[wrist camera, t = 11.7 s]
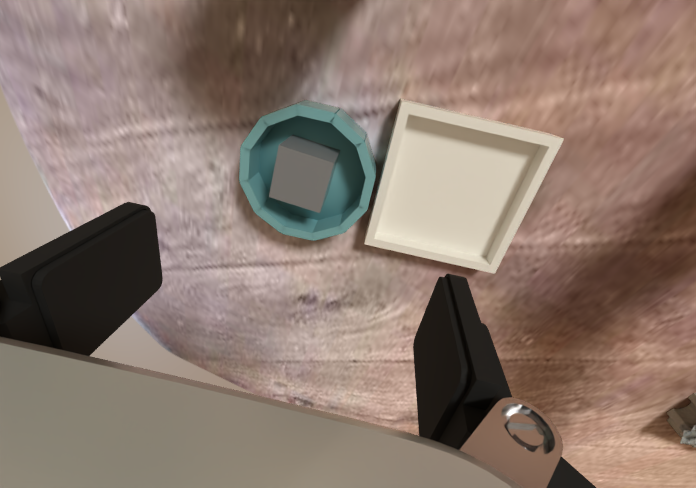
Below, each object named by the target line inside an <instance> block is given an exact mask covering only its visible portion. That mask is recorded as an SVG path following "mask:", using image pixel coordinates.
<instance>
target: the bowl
mask: <svg viewBox="0 0 696 488" xmlns="http://www.w3.org/2000/svg"><path fill="white" fill-rule="evenodd" d="M291 135H296V136H299V137H302V138H305V139H308V140H311V141H314V142H317V143H320V144H323V145H326V146H329V147H332V148H335V149H338V150H340V154H339V157H338V161H337V164H336V168H335V171H334V175H333V178H332V182H331V185H330V188H329V192H328V195H327V198H326V200H325V202H324V205H323V207H322V209H321V212H320V213H318V212H315V211H311V210H308V209H305V208H302V207H299V206H296V205H293V204H289V203H286V202H283V201H280V200H277V199H274V198H271V197H269V193H270V188H271V183H272V178H273V172H274V167H275V162H276V157H277V152H278V147H279V145H280V144H281V143H282V142H283V141H285V140H286V139H287V138H289V137H290V136H291ZM375 178H376V163H375V160H374V156H373V153H372V149H371V146H370V143H369V139H368V136H367V134H366V132H365V131H364V130H363V129H362V128H361V127H360V126H359V125H358V124H357V123H356V122H355V121H354V120H353V119H352V118H351V117H349V116H348V115H347V114H346V113H345V112H344V111H343V110H342V109H340V108H339V107H334V106H330V105H326V104H321V103H317V102H313V101H308V100H304V101H301V102H299V103H296V104H293V105H290V106H288V107H285V108H282V109H279V110H277V111H274V112H272V113H269V114H267V115H265V116H262V117H261V118H260V119H259V121H258V122H257V123H256V125H255V126H254V128H253V129H252V131H251V132H250V133H249V135H248V136H247V138H246V139H245V141H244V142H243V143H242V145H241V147H240V171H239V181H240V184H241V186H242V188H243V190H244V192H245V194H246V196H247V198H248V201H249V203H250V205H251V207H252V209H253V211H254V212H255V213H256V214H257V215H258V216H259V217H261V218H262V219H263V220H264V221H266V222H267V223H268V224H270V225H271V226H272V227H273V228H275V229H276V230H277V231H279V232H280V233H282V234H285V235H290V236H294V237H298V238H303V239H307V240H312V241H313V240H314V241H315V240H319V239H323V238H326V237H330V236H334V235H338V234H342V233H344V232H346V231H347V230H348V229H349V228H350V227H351V226H352V225H353V224H354V223H355V222H356V221H357V220H358V219H359V218H360V217H361V216H362V215H363V214H364V213H365V212H366V211H367V209H368V205H369V201H370V197H371V194H372V190H373V186H374V182H375Z"/></svg>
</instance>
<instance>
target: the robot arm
mask: <svg viewBox="0 0 696 488" xmlns="http://www.w3.org/2000/svg"><path fill="white" fill-rule="evenodd" d="M0 277H1V280H0V488H596V487H595V486H594V485H593V484H592V483H590V482H589V481H588V480H587V479H586V478H585V477H584V476H583V475H581V474H580V473H579V472H578V471H577V470H576V469H575V468H574V467H572V466H571V465H570V464H569V463H568V462H567V461H566V460H565V459H563V458H562V457H561V455H562V450H563V444H562V440H561V436H560V434H559V432H558V431H557V429H556V427H555V426H554V424H553V423H552V422H551V420H550V419H549V418H548V417H547V416H546V415H545V414H544V413H543V412H542V411H540V410H539V409H538V408H536V407H535V406H533V405H532V404H530V403H528V402H526V401H524V400H521V399H518V398H512V395H511V392H510V390H509V387H508V384H507V381H506V378H505V375H504V373H503V370H502V367H501V364H500V361H499V359H498V356H497V353H496V350H495V347H494V344H493V342H492V339H491V336H490V333H489V330H488V328H487V326H486V325H485V324H483V323H481V321H480V318H479V315H478V312H477V309H476V306H475V303H474V300H473V297H472V294H471V291H470V288H469V285H468V282H467V280H466V278H464V277H460V276H456V275H451V274H446V276H445V277H439V279H438V281H437V283H436V286H435V288H434V291H433V293H432V296H431V298H430V301H429V303H428V306H427V308H426V311H425V313H424V316H423V318H422V321H421V323H420V326H419V328H418V331H417V333H416V336H415V339H414V346H413V349H414V364H415V379H416V394H417V409H418V423H419V436H417V435H414V434H411V433H407V432H404V431H400V430H396V429H392V428H388V427H384V426H380V425H377V424H373V423H369V422H365V421H361V420H357V419H353V418H349V417H345V416H341V415H337V414H333V413H329V412H325V411H321V410H316V409H312V408H308V407H304V406H300V405H295V404H291V403H287V402H283V401H279V400H275V399H270V398H266V397H262V396H258V395H254V394H250V393H245V392H241V391H237V390H232V389H228V388H224V387H220V386H215V385H211V384H207V383H203V382H199V381H194V380H190V379H186V378H181V377H177V376H173V375H168V374H164V373H160V372H155V371H151V370H147V369H143V368H138V367H134V366H129V365H125V364H120V363H117V362H112V361H108V360H103V359H99V358H95V357H90V355H91V354H92V353H93V352H94V351H95V350H96V349H97V348H98V347H99V346H100V345H101V344H102V343H103V342H104V341H105V340H106V339H107V338H108V337H109V336H110V335H111V334H113V333H114V332H115V331H116V330H117V329H118V328H119V327H120V326H121V325H122V324H123V323H124V322H125V321H126V320H127V319H128V318H129V317H130V316H131V315H132V314H133V313H135V312H136V311H137V310H138V309H139V308H140V307H141V306H142V305H143V304H144V303H145V302H146V301H147V300H148V299H149V298H150V297H151V296H152V295H153V294H154V293H155V292H156V291H158V289H159V288H160V287H161V284H162V270H161V261H160V253H159V244H158V236H157V228H156V219H155V214H154V213H153V212H151V210H150V208H149V207H148V206H145V205H140V204H136V203H131V202H127V203H124V204H122V205H120V206H118V207H116V208H114V209H112V210H110V211H109V212H107V213H105V214H103V215H101V216H99V217H97V218H95V219H93V220H91V221H89V222H87V223H85V224H83V225H81V226H79V227H78V228H76V229H74V230H72V231H70V232H68V233H66V234H64V235H62V236H60V237H58V238H57V239H54V240H52V241H50V242H49V243H47V244H45V245H43V246H41V247H39V248H37V249H35V250H33V251H31V252H29V253H27V254H25V255H23V256H21V257H19V258H17V259H15V260H14V261H12V262H10V263H8V264H6V265H4V266H2V267H0Z"/></svg>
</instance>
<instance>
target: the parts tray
mask: <svg viewBox="0 0 696 488" xmlns="http://www.w3.org/2000/svg"><path fill="white" fill-rule="evenodd" d="M563 140H564V139H563V138H561V137H558V136H556V135H553V134H551V133H546V132H542V131H538V130H533V129H529V128H525V127H520V126H516V125H512V124H508V123H503V122H499V121H495V120H490V119H486V118H482V117H478V116H473V115H469V114H465V113H460V112H456V111H452V110H448V109H443V108H439V107H435V106H430V105H426V104H422V103H417V102H413V101H409V100H405V99H400V102H399V106H398V110H397V114H396V118H395V122H394V125H393V129H392V133H391V137H390V141H389V145H388V149H387V152H386V156H385V160H384V164H383V168H382V172H381V175H380V179H379V183H378V187H377V191H376V195H375V199H374V202H373V206H372V210H371V214H370V218H369V222H368V225H367V229H366V233H365V242H364V244H365V245H370V246H374V247H379V248H383V249H388V250H392V251H396V252H401V253H405V254H410V255H414V256H419V257H423V258H428V259H432V260H436V261H441V262H445V263H450V264H454V265H459V266H463V267H468V268H472V269H476V270H481V271H485V272H490V273H494V274H495V272H496V270H497V268H498V266H499V264H500V262H501V260H502V258H503V257H504V255H505V253H506V251H507V249H508V247H509V245H510V243H511V241H512V239H513V237H514V235H515V233H516V231H517V229H518V227H519V225H520V224H521V222H522V220H523V218H524V216H525V214H526V212H527V210H528V208H529V206H530V204H531V202H532V200H533V198H534V196H535V194H536V192H537V190H538V189H539V187H540V185H541V183H542V181H543V179H544V177H545V175H546V173H547V171H548V169H549V167H550V165H551V163H552V161H553V159H554V157H555V155H556V154H557V152H558V150H559V148H560V146H561V144H562V142H563Z"/></svg>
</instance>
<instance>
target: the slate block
mask: <svg viewBox="0 0 696 488" xmlns="http://www.w3.org/2000/svg"><path fill="white" fill-rule="evenodd" d="M339 154H340V150H338V149H335V148H332V147H329V146H326V145H323V144H320V143H317V142H314V141H311V140H308V139H305V138H302V137H299V136H296V135H291V136H290V137H289V138H287V139H286V140H285V141H283V142H282V143H281V144H280V145H279V147H278V152H277V157H276V162H275V167H274V172H273V178H272V183H271V188H270V193H269V197H271V198H274V199H277V200H280V201H283V202H286V203H289V204H293V205H296V206H299V207H302V208H305V209H308V210H311V211H315V212H318V213H320V212H321V209H322V207H323V205H324V202H325V200H326V198H327V195H328V192H329V188H330V185H331V182H332V178H333V175H334V171H335V168H336V164H337V161H338V157H339Z"/></svg>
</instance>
